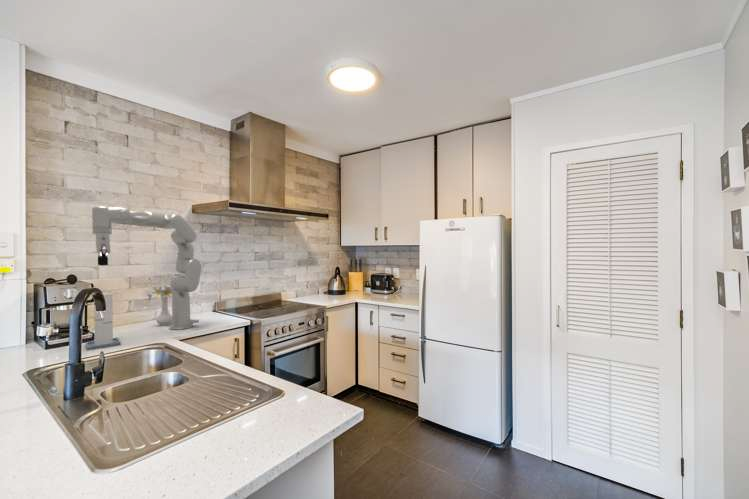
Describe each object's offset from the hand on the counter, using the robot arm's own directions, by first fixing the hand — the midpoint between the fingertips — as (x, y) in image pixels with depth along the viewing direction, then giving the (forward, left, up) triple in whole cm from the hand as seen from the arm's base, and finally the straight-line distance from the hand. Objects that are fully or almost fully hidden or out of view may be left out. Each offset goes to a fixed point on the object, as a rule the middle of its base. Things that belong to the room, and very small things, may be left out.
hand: (102, 265), depth 171 cm
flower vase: (-32, -31, -40) cm, 60 cm away
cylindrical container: (0, +1, -40) cm, 40 cm away
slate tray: (0, +1, -40) cm, 40 cm away
